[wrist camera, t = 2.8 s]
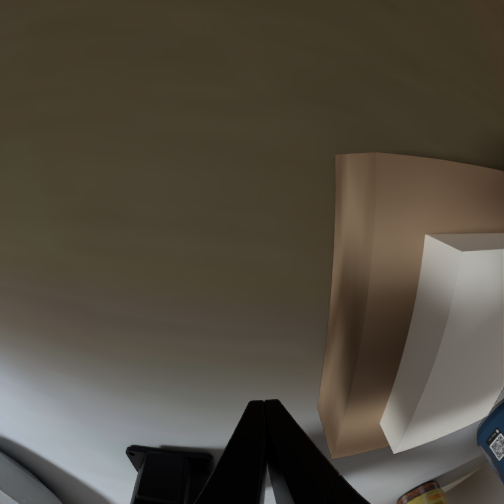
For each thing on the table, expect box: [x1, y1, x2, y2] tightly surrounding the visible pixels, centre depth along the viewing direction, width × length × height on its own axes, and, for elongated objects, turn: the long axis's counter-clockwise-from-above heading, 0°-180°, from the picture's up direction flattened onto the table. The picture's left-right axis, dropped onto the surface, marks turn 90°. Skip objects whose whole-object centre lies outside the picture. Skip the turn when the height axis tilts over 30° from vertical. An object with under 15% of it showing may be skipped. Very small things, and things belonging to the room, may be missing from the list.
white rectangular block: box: [380, 233, 504, 454], centre depth 9 cm, size 9×6×2 cm, turn 2°
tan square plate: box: [317, 152, 504, 459], centre depth 12 cm, size 14×12×4 cm
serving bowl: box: [0, 452, 62, 504], centre depth 17 cm, size 21×21×7 cm
